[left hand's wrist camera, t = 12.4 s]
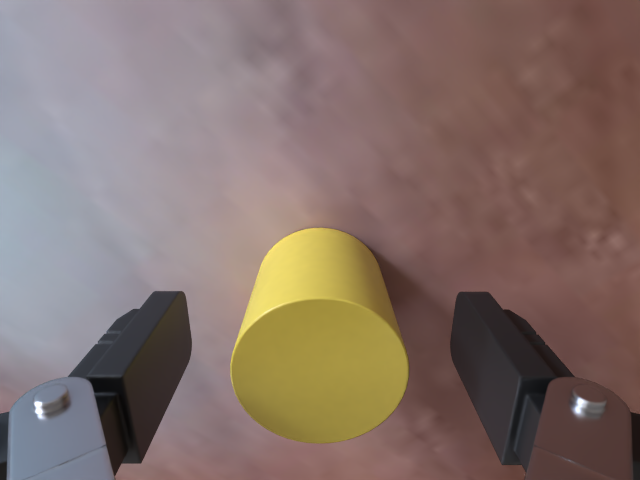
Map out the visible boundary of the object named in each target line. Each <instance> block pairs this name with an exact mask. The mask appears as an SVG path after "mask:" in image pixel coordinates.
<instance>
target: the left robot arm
mask: <svg viewBox="0 0 640 480" xmlns="http://www.w3.org/2000/svg"><path fill="white" fill-rule="evenodd" d="M450 348H451V356H452V360H453V363H454V365H455V367H456V369H457V372H458V374H459V376H460V378H461V380H462V382H463V384H464V386H465V388H466V390H467V393H468V395H469V397H470V399H471V401H472V403H473V405H474V407H475V409H476V411H477V413H478V416H479V418H480V420H481V422H482V424H483V426H484V428H485V430H486V432H487V434H488V437H489V439H490V441H491V443H492V445H493V447H494V449H495V451H496V453H497V455H498V458H499V460H500V462H501V464H502V465H522V466H523V468H524V470H525V472H526V476H525V480H640V414H636V413H632V412H630V410H629V408H628V406H627V405H626V403H625V402H624V401H623V400H622V399H621V398H620V397H619V396H617V395H616V394H615V393H613V392H612V391H610V390H609V389H607V388H605V387H603V386H601V385H599V384H597V383H594V382H592V381H589V380H585V379H581V378H576V377H575V376H574V375H573V374H572V373H571V372H570V371H569V370H568V368H567V367H566V366H565V365H564V364H563V363H562V362H561V360H560V359H559V358H558V357H557V356H556V355H555V353H554V352H553V351H552V350H551V349H550V348H549V347H548V345H545V342H544V341H543V340H542V338H541V337H540V336H539V335H536V332H535V330H534V329H533V328H532V327H531V326H530V325H529V323H528V322H527V321H526V320H525V319H523V318H521V317H520V316H518V315H517V314H515V313H513V312H512V311H510V310H503V309H502V308H501V307H500V305H499V304H498V303H497V302H496V301H495V299H494V298H493V297H492V296H491V294H490V293H488V292H459V293H458V295H457V298H456V303H455V311H454V318H453V325H452V333H451V341H450ZM191 349H192V339H191V331H190V324H189V316H188V309H187V301H186V296H185V294H184V292H182V291H155V292H153V293H152V294H151V295H150V297H149V298H148V299H147V300H146V302H145V303H144V304H143V306H142V307H141V308H140V309H133V310H131V311H130V312H128V313H126V314H125V315H123V316H122V317H120V318H118V319H117V320H116V321H115V322H114V324H113V325H112V326H111V327H110V328H109V329H108V330H107V334H104V335H103V336H102V337H101V339H100V340H99V341H98V344H95V346H94V347H93V348H92V349H91V350H90V351H89V353H88V354H87V355H86V356H85V357H84V358H83V360H82V361H81V362H80V363H79V364H78V365H77V367H76V368H75V369H74V370H73V371H72V372H71V374H70V375H69V376H68V377H64V378H59V379H55V380H51V381H48V382H46V383H43V384H41V385H39V386H37V387H35V388H33V389H31V390H30V391H28V392H27V393H25V394H24V395H23V396H21V397H20V398H19V399H18V400H17V401H16V402H15V403H14V405H13V406H12V408H11V410H10V412H6V413H2V414H0V480H115V475H116V473H117V471H118V469H119V467H120V465H121V463H142V460H143V458H144V456H145V454H146V452H147V450H148V448H149V446H150V443H151V441H152V439H153V437H154V435H155V433H156V431H157V429H158V426H159V424H160V422H161V420H162V418H163V416H164V414H165V412H166V409H167V407H168V405H169V403H170V401H171V399H172V397H173V395H174V392H175V390H176V388H177V386H178V384H179V382H180V380H181V378H182V375H183V373H184V371H185V369H186V367H187V365H188V363H189V360H190V356H191Z"/></svg>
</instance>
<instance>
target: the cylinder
mask: <svg viewBox="0 0 640 480" xmlns="http://www.w3.org/2000/svg"><path fill="white" fill-rule="evenodd" d="M230 375H231V381H232V385H233V389H234V392H235V394H236V396H237V398H238V400H239V402H240V404H241V405H242V407H243V408H244V410H245V411H246V412H247V413H248V414H249V415H250V416H251V417H252V418H253V419H254V420H255V421H256V422H257V423H258V424H260V425H261V426H263V427H264V428H266V429H267V430H269V431H271V432H273V433H275V434H277V435H279V436H282V437H285V438H288V439H291V440H295V441H300V442H306V443H333V442H340V441H345V440H349V439H352V438H355V437H358V436H360V435H363V434H365V433H367V432H369V431H371V430H372V429H374V428H375V427H377V426H379V425H380V424H381V423H382V422H384V421H385V420H386V419H387V418H388V417H389V416H390V415H391V414H392V413H393V412H394V410H395V409H396V408H397V406H398V405H399V403H400V401H401V400H402V398H403V396H404V393H405V390H406V388H407V384H408V379H409V360H408V355H407V352H406V348H405V345H404V342H403V339H402V336H401V333H400V330H399V326H398V323H397V320H396V317H395V314H394V311H393V308H392V305H391V302H390V299H389V296H388V292H387V289H386V286H385V283H384V280H383V277H382V274H381V271H380V268H379V265H378V263H377V261H376V259H375V257H374V255H373V254H372V252H371V251H370V250H369V249H368V248H367V247H366V246H365V245H364V244H363V243H362V242H361V241H359V240H358V239H356V238H355V237H353V236H351V235H349V234H347V233H345V232H342V231H339V230H335V229H330V228H311V229H305V230H301V231H298V232H295V233H293V234H290V235H288V236H287V237H285V238H283V239H282V240H280V241H279V242H278V243H277V244H275V245H274V246H273V248H272V249H271V250H270V251H269V252H268V254H267V255H266V256H265V258H264V260H263V262H262V264H261V267H260V270H259V273H258V276H257V279H256V282H255V285H254V289H253V292H252V295H251V298H250V301H249V304H248V307H247V310H246V313H245V316H244V319H243V323H242V326H241V329H240V332H239V335H238V338H237V341H236V344H235V347H234V350H233V353H232V358H231V364H230Z"/></svg>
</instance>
